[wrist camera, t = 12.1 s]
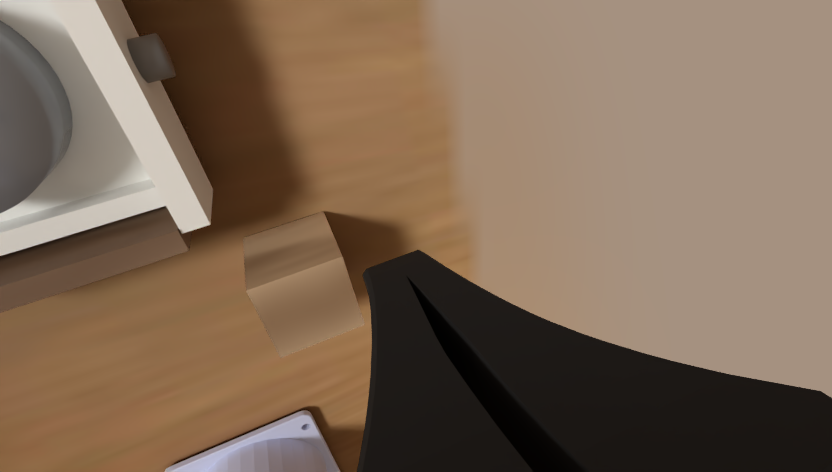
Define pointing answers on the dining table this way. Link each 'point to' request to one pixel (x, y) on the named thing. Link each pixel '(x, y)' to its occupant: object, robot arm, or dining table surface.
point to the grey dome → (29, 118)
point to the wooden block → (300, 284)
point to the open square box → (89, 257)
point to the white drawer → (106, 126)
